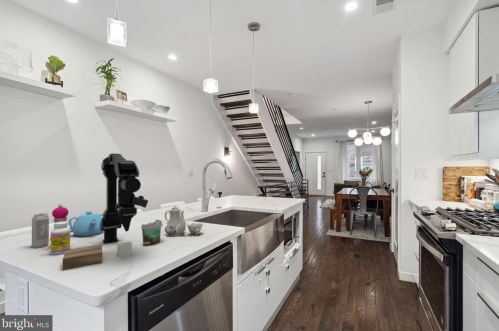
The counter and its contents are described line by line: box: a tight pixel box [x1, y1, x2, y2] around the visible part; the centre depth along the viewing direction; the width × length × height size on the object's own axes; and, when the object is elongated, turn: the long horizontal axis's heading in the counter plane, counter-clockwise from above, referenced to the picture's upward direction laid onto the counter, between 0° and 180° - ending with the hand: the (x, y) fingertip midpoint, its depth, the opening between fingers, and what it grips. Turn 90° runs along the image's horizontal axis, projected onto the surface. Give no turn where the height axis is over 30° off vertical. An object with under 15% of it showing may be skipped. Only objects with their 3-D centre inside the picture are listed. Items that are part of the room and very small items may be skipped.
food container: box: [140, 219, 163, 247], centre depth 117 cm, size 12×6×10 cm, turn 168°
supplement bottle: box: [50, 221, 71, 256], centre depth 104 cm, size 7×7×13 cm
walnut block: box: [62, 244, 103, 271], centre depth 94 cm, size 12×12×4 cm
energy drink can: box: [31, 212, 50, 249], centre depth 113 cm, size 6×6×15 cm
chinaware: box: [164, 204, 204, 238], centre depth 135 cm, size 28×17×17 cm, turn 58°
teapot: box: [68, 210, 103, 237], centre depth 133 cm, size 20×20×13 cm
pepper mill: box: [49, 203, 69, 242], centre depth 111 cm, size 7×7×20 cm
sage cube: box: [117, 241, 133, 260], centre depth 99 cm, size 5×5×5 cm
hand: (125, 228), depth 100 cm, fingers open, 9 cm apart
